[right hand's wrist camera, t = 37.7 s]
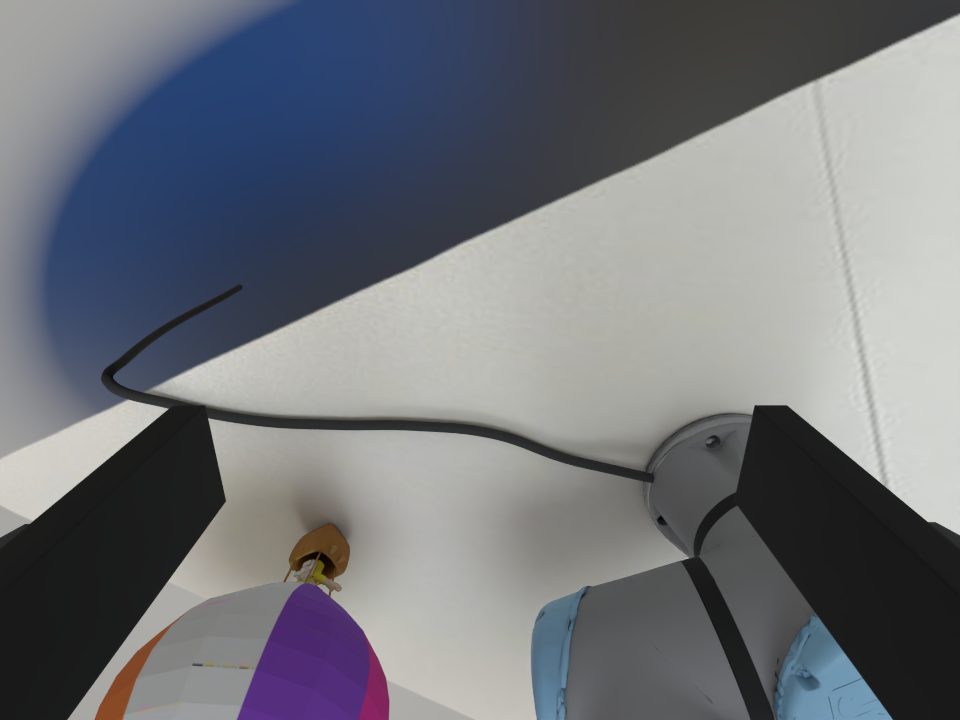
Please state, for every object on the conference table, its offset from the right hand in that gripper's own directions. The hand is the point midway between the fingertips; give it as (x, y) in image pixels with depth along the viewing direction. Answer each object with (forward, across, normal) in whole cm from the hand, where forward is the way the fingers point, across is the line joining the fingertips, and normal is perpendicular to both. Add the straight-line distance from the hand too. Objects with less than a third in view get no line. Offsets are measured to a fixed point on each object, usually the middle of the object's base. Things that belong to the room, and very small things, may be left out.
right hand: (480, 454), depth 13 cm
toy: (+34, -16, -31) cm, 48 cm away
